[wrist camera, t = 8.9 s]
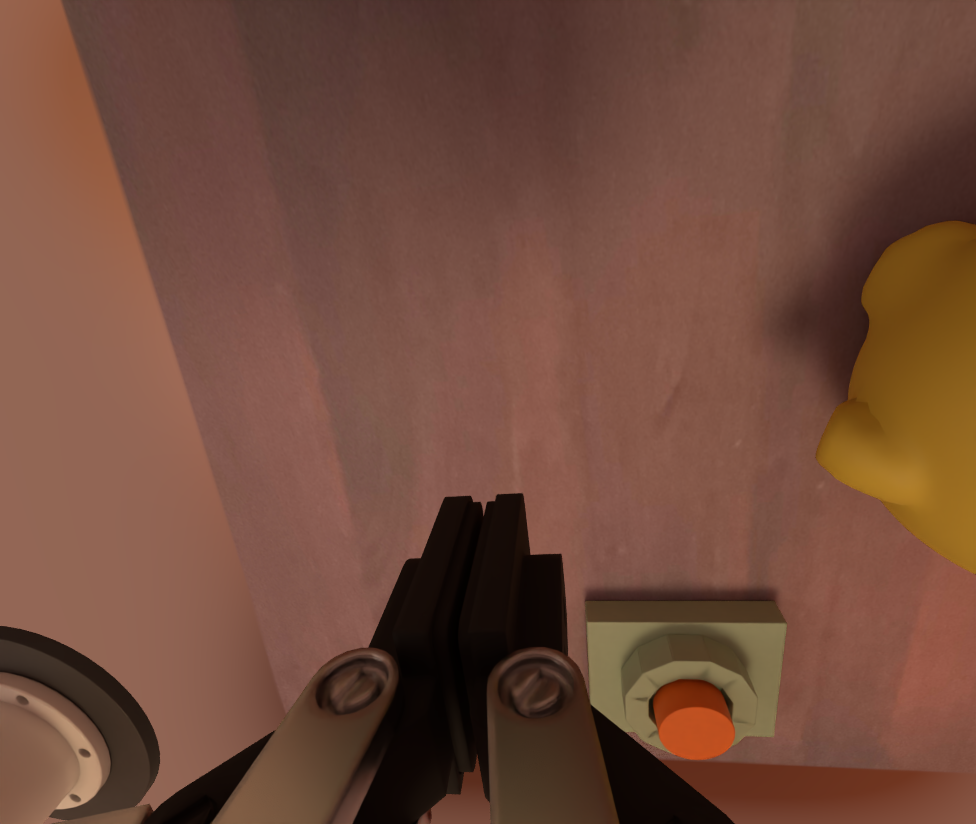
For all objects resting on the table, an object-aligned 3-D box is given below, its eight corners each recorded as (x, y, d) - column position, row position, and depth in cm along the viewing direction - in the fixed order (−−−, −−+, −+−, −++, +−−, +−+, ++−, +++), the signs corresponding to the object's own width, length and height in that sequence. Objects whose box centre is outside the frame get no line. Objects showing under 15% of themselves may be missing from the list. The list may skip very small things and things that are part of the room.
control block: (590, 705, 32) (593, 760, 29) (585, 600, 30) (588, 648, 26) (762, 710, 31) (787, 769, 28) (774, 600, 28) (803, 650, 25)
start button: (652, 727, 28) (658, 759, 27) (652, 676, 27) (659, 706, 26) (723, 729, 28) (733, 762, 26) (726, 677, 27) (737, 708, 25)
